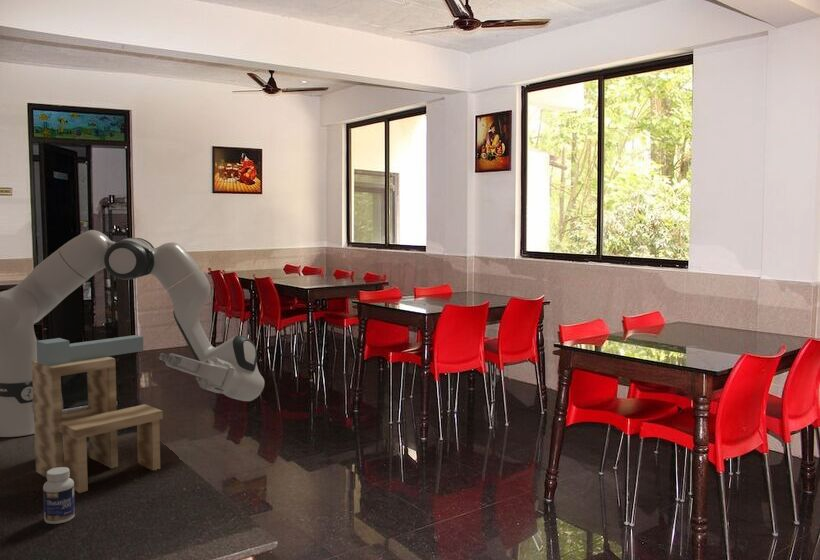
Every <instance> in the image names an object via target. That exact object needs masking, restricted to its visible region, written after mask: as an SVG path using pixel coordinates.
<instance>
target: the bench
mask: <svg viewBox="0 0 820 560" xmlns="http://www.w3.org/2000/svg"><path fill="white" fill-rule="evenodd" d="M163 411H164V410H161V409H159V408H157V407H153V406H152V405H149V404H145V403H143V404H140V405H136V406H130V407H124V408H121V409H117V410H116V411H111V412H106V413H102V414H97V415H92V416H88V417H83V418H78V419H74V420H69V421H64V422H60V423H59V432H61V433H63V442H64V453H63V460H64V467H67V468H69V470H70V476H69V478H71V479H72V480H73V481H74V492H75V491H76V492H77V493H78V494H81V493H84V492H87V491H89V489H88V488H89V487H88V483H89V482H88V481H89V480H88V454H87V453H88V451H87V450H88V449H87V447H88V446H87V438H89V436H93V435H98V434H102V433H106V432H110V431H114V430H117V431H119V430H122V429H126V428H130V427H135V426H136V435H137V437H136V439H137V440H136V441H137V445H136V446H137V464H138V463H139V464H141V465H140V466H142V465H143V466H142V467H144V466H145V467H144V468H146V467H147V468H146V469H148V468H149V469H148V470H150V469H151V470H150V471H152V470H153V471H152V472H154V470H155V471H158V470H157V469H159V470H161V440H160V439H161V434H160V433H161V432H160V428H161V427H160V420H163V419H164V414H163V413H164V412H163ZM139 464H138V465H139Z"/></svg>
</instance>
